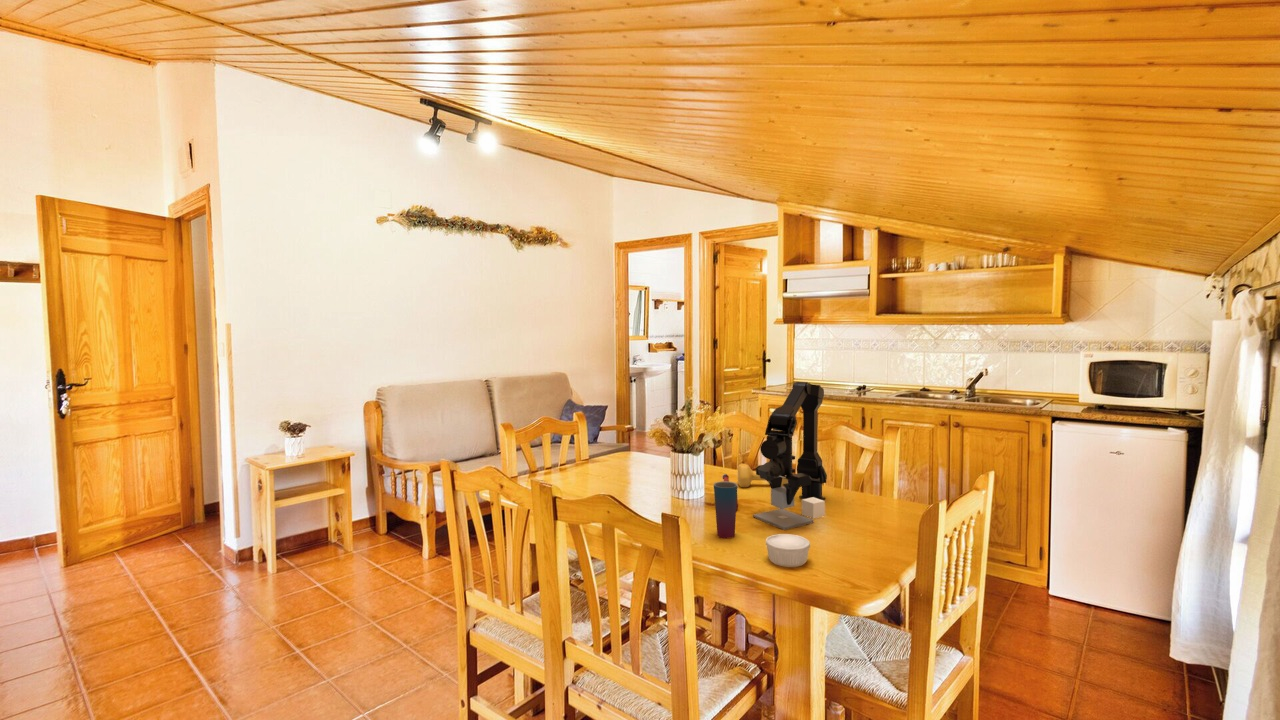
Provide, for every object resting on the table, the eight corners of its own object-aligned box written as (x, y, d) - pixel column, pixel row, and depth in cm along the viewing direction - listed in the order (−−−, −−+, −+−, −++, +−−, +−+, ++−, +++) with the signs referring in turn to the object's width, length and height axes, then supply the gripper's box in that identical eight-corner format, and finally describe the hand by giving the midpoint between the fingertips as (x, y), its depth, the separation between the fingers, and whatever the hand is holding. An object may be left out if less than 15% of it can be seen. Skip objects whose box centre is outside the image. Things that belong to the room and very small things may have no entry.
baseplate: (781, 510, 198) (781, 507, 198) (813, 522, 186) (813, 519, 186) (752, 517, 192) (752, 514, 192) (784, 530, 180) (784, 527, 180)
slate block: (783, 502, 192) (782, 486, 192) (794, 506, 188) (794, 490, 188) (771, 504, 190) (770, 489, 190) (782, 509, 186) (782, 492, 185)
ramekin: (778, 549, 166) (778, 530, 166) (817, 559, 159) (817, 539, 158) (757, 562, 157) (757, 542, 157) (798, 573, 150) (798, 552, 150)
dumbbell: (738, 489, 224) (738, 467, 224) (737, 482, 233) (737, 461, 233) (791, 490, 222) (790, 468, 222) (787, 483, 231) (787, 462, 230)
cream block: (813, 512, 197) (813, 497, 196) (824, 516, 192) (824, 500, 192) (801, 515, 194) (801, 499, 194) (813, 519, 190) (813, 503, 189)
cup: (739, 532, 179) (739, 482, 178) (735, 540, 173) (735, 488, 172) (716, 530, 181) (716, 480, 180) (711, 538, 175) (711, 486, 174)
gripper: (742, 450, 192) (742, 499, 193) (784, 462, 176) (784, 515, 177) (769, 446, 198) (769, 493, 199) (812, 457, 181) (812, 508, 183)
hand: (782, 502), depth 189 cm, fingers closed on slate block, 5 cm apart
